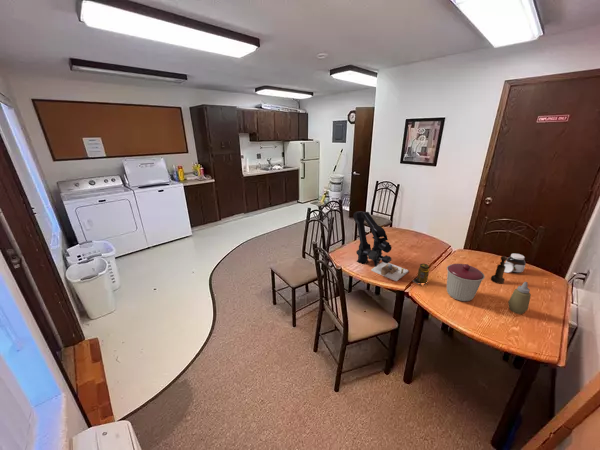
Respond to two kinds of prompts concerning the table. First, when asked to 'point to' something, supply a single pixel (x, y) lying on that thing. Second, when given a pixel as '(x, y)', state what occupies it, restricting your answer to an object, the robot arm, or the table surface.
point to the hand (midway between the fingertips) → (375, 266)
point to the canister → (463, 281)
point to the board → (389, 275)
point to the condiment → (422, 274)
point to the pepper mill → (499, 272)
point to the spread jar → (515, 263)
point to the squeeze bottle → (520, 299)
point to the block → (388, 270)
